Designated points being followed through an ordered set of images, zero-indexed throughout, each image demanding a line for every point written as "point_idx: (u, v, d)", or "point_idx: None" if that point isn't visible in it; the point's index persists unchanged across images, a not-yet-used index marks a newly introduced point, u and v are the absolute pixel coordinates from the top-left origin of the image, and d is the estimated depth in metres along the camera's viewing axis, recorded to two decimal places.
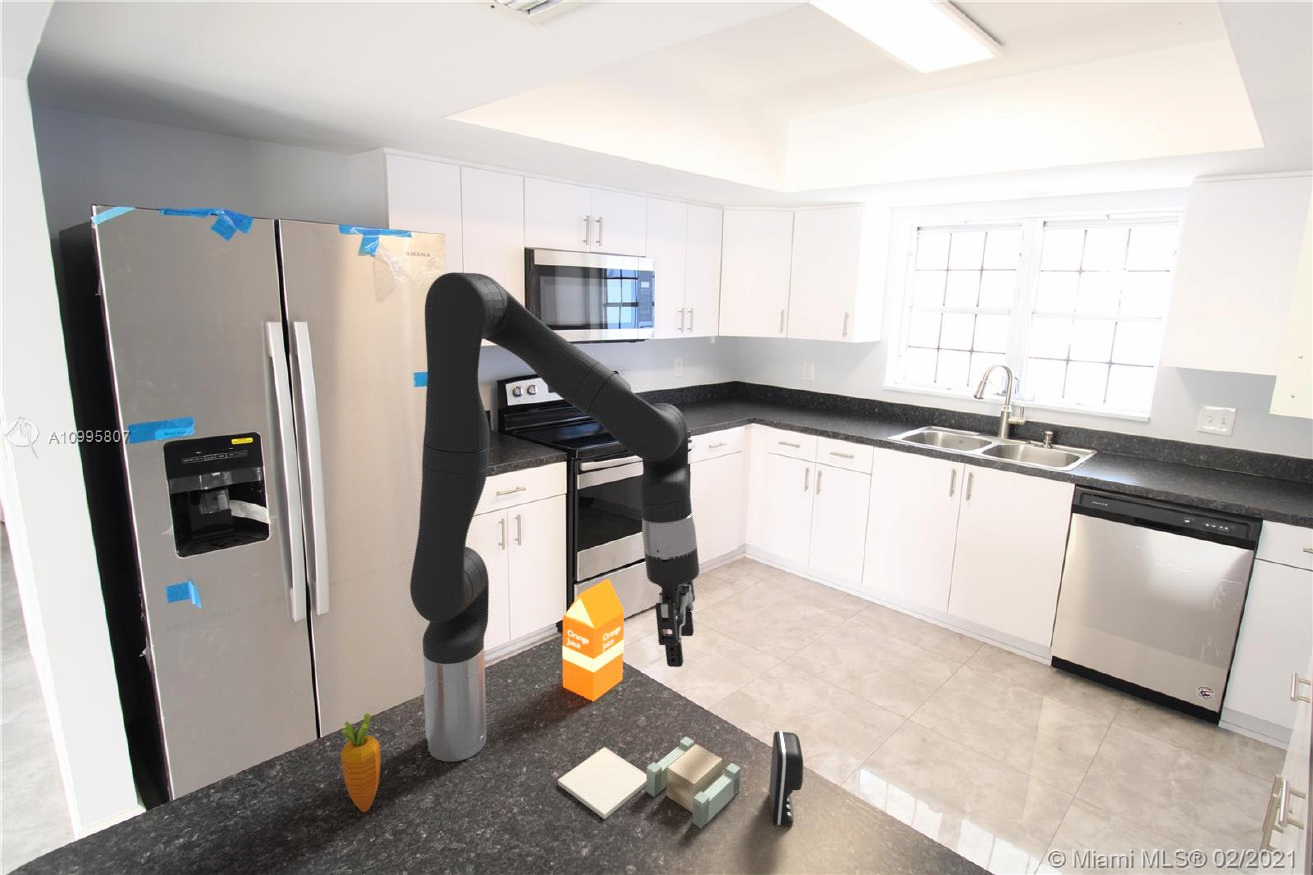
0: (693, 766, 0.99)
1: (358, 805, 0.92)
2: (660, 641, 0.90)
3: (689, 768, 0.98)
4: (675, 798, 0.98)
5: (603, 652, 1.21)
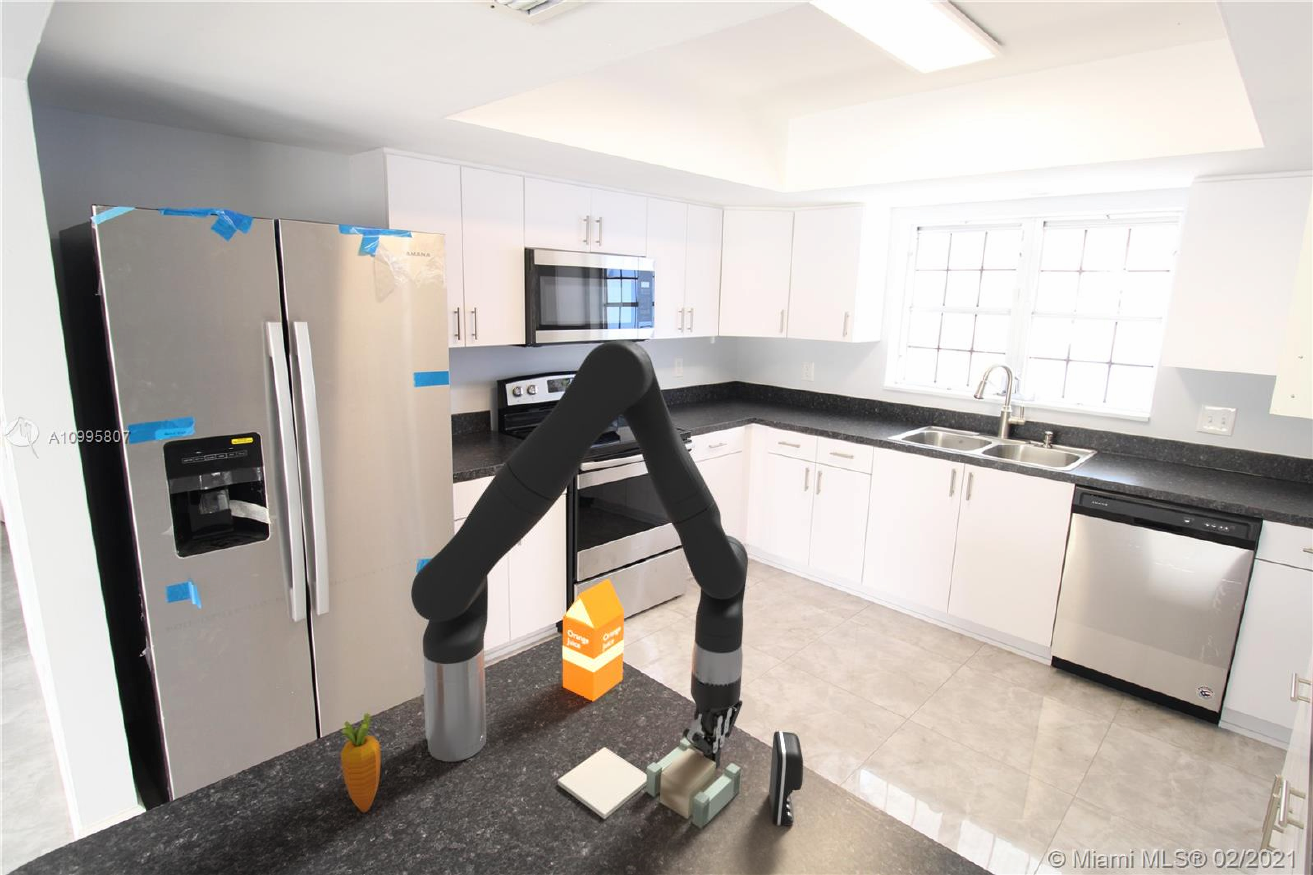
0: (687, 770, 0.97)
1: (358, 805, 0.92)
2: (695, 748, 1.01)
3: (683, 774, 0.97)
4: (669, 804, 0.97)
5: (603, 652, 1.21)
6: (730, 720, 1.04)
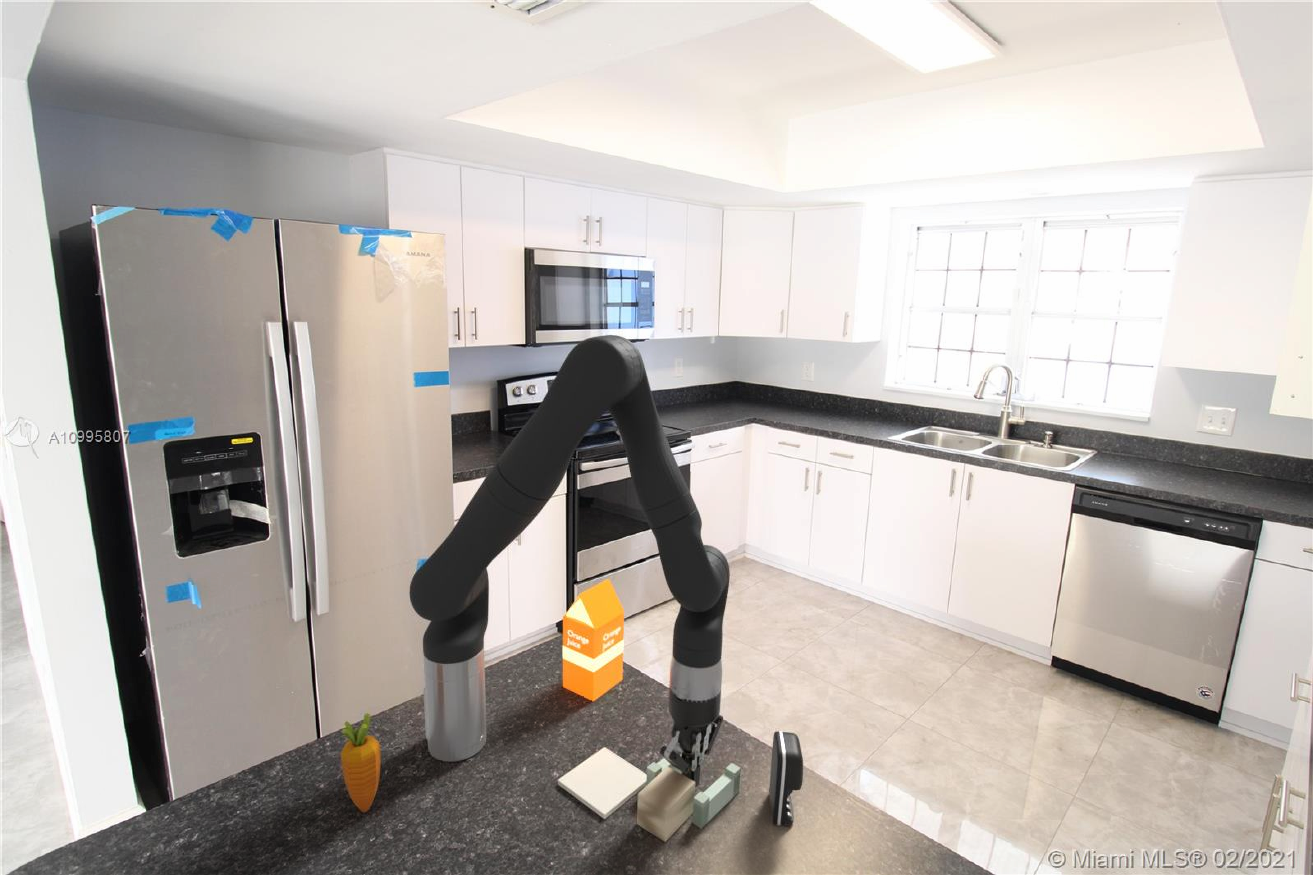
0: (665, 791, 0.93)
1: (358, 805, 0.92)
2: (673, 766, 0.97)
3: (661, 794, 0.93)
4: (646, 826, 0.93)
5: (603, 652, 1.21)
6: (710, 736, 1.00)
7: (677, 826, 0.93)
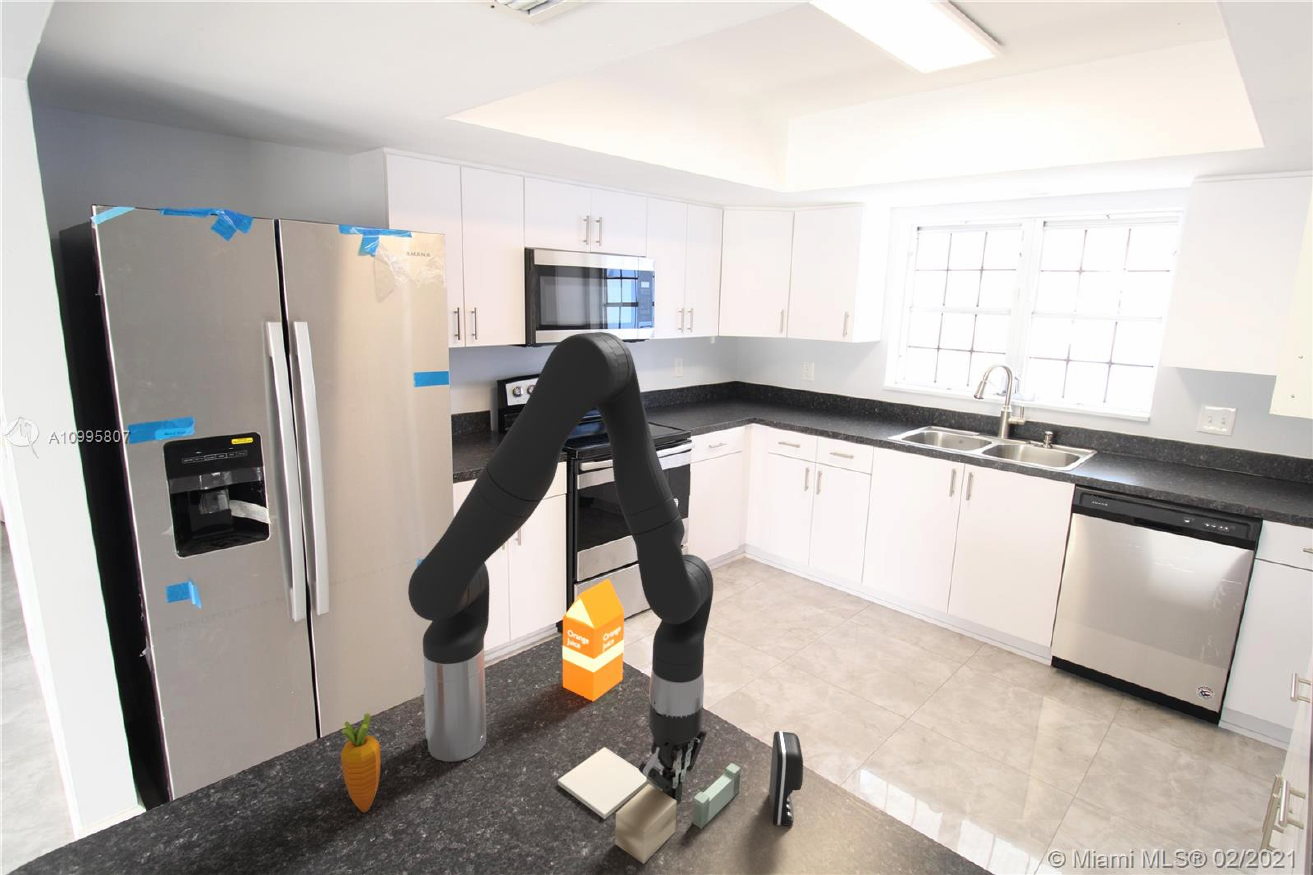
0: (645, 810, 0.90)
1: (358, 805, 0.92)
2: (653, 783, 0.93)
3: (640, 814, 0.89)
4: (625, 847, 0.89)
5: (603, 652, 1.21)
6: (693, 752, 0.96)
7: (657, 847, 0.89)
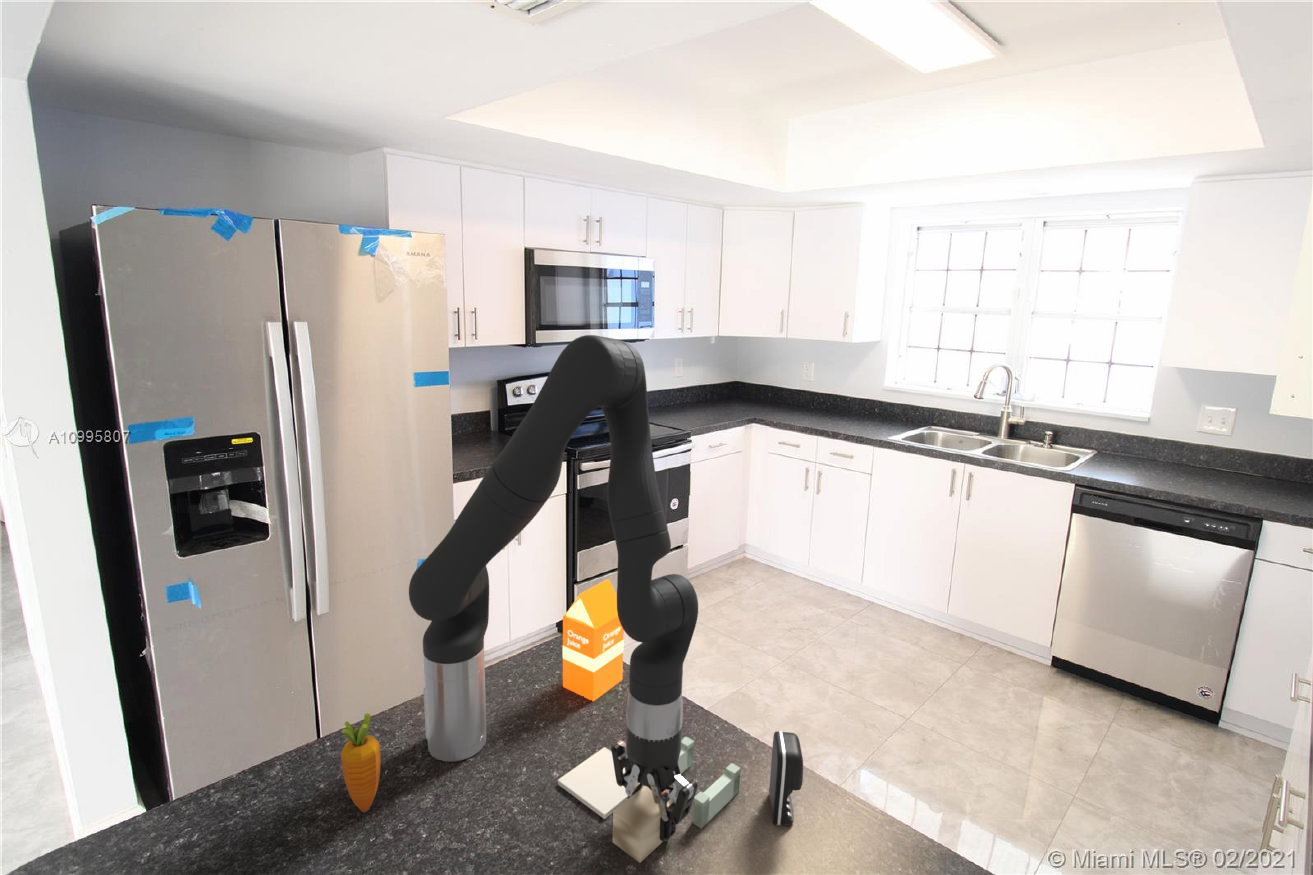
0: (642, 809, 0.90)
1: (358, 805, 0.92)
2: None
3: (637, 813, 0.89)
4: (622, 845, 0.89)
5: (603, 652, 1.21)
6: None
7: (654, 846, 0.90)
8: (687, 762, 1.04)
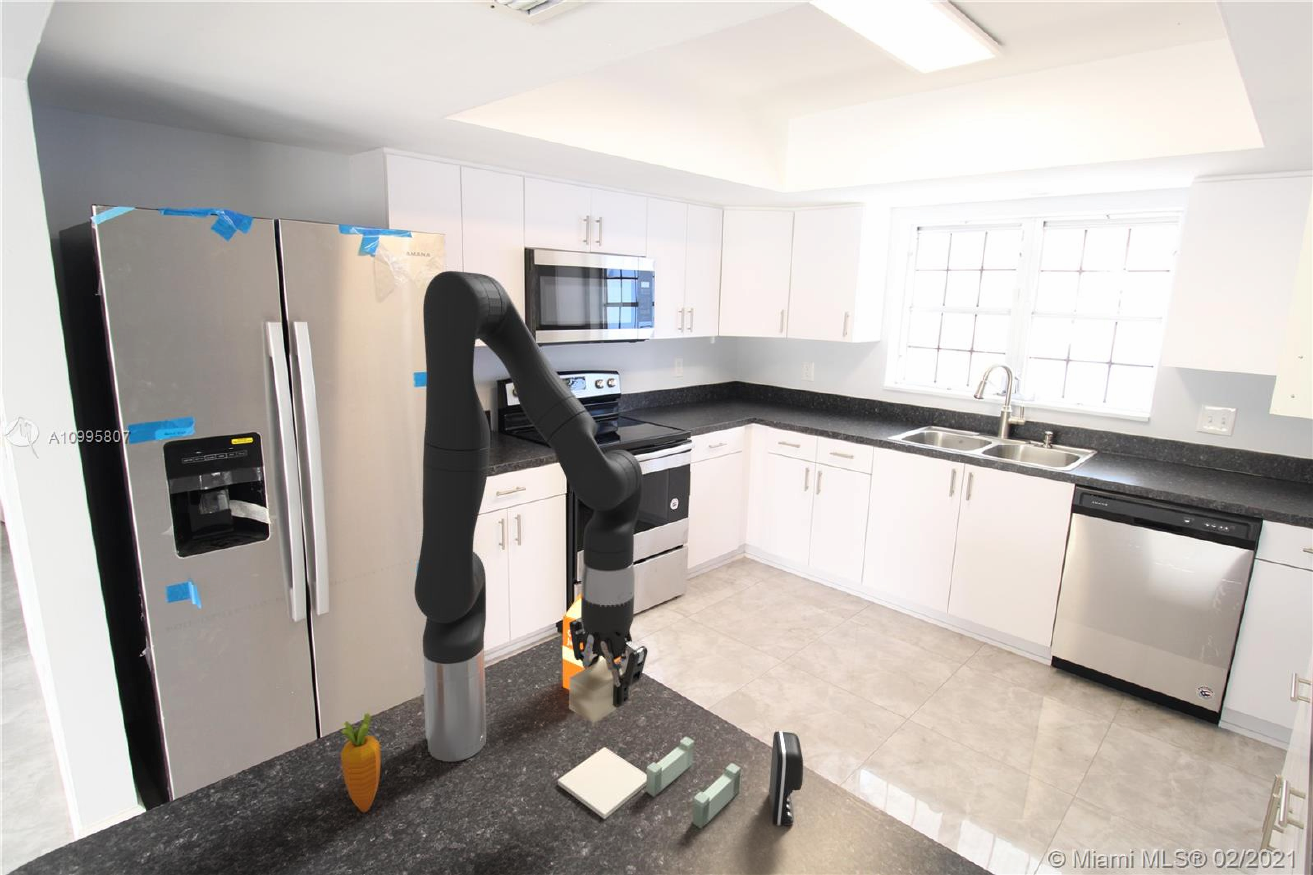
0: (597, 676, 0.95)
1: (358, 805, 0.92)
2: (584, 649, 1.01)
3: (591, 679, 0.95)
4: (577, 710, 0.95)
5: None
6: None
7: (607, 711, 0.95)
8: (687, 762, 1.04)
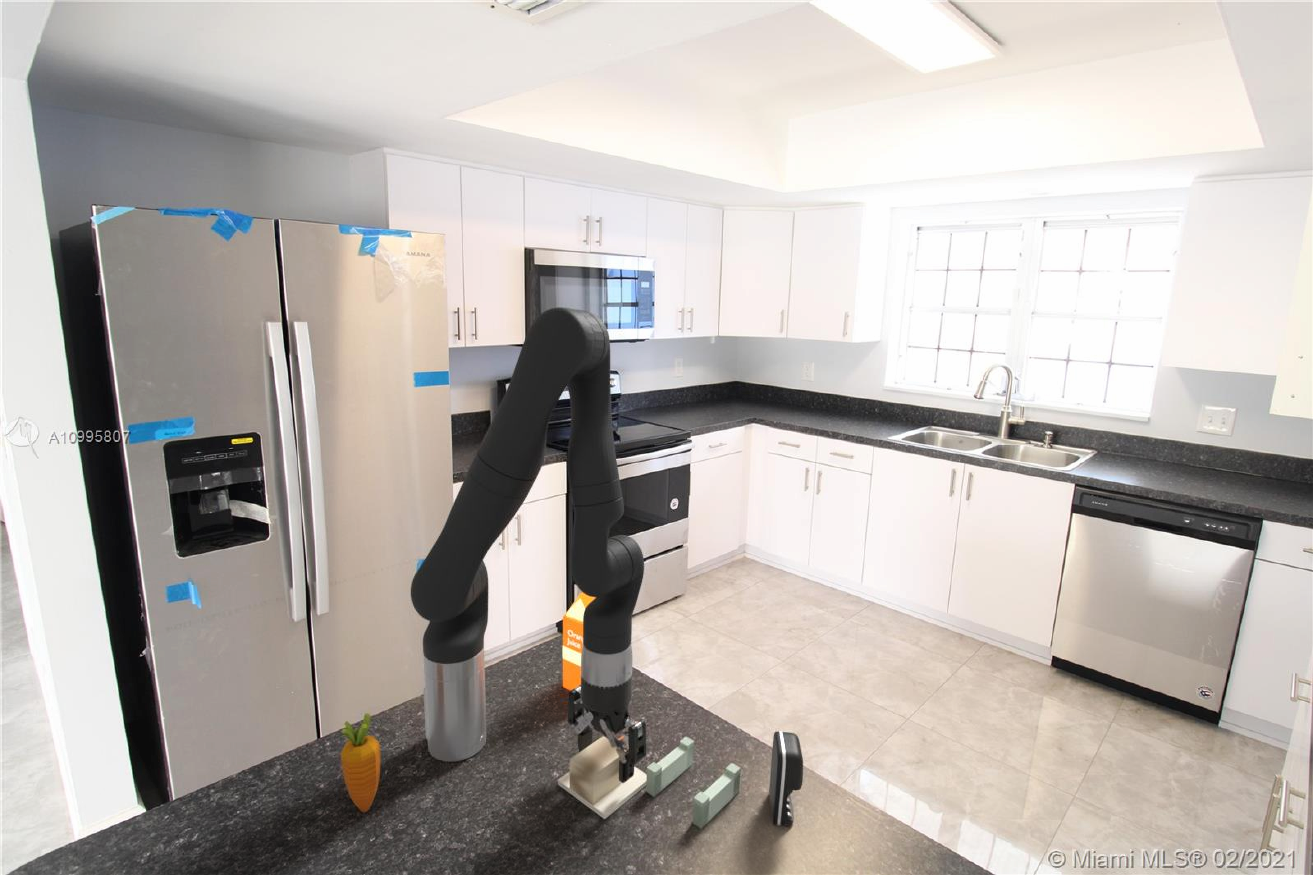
0: (596, 757, 0.98)
1: (358, 805, 0.92)
2: None
3: (591, 760, 0.98)
4: (577, 790, 0.98)
5: None
6: None
7: (606, 791, 0.98)
8: (687, 762, 1.04)
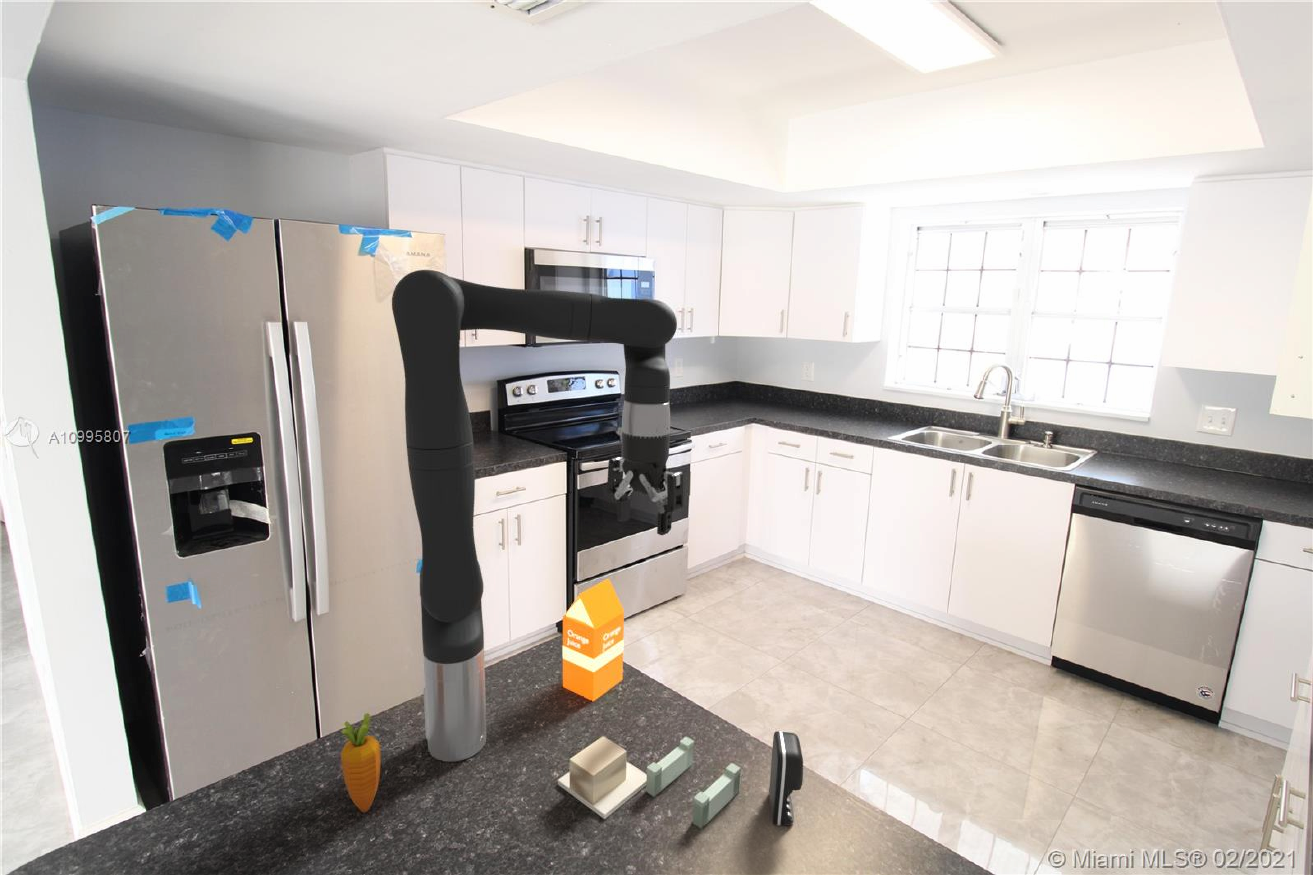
0: (596, 757, 0.98)
1: (358, 805, 0.92)
2: (616, 485, 1.11)
3: (591, 760, 0.98)
4: (577, 790, 0.98)
5: (603, 652, 1.21)
6: None
7: (606, 791, 0.98)
8: (687, 762, 1.04)
